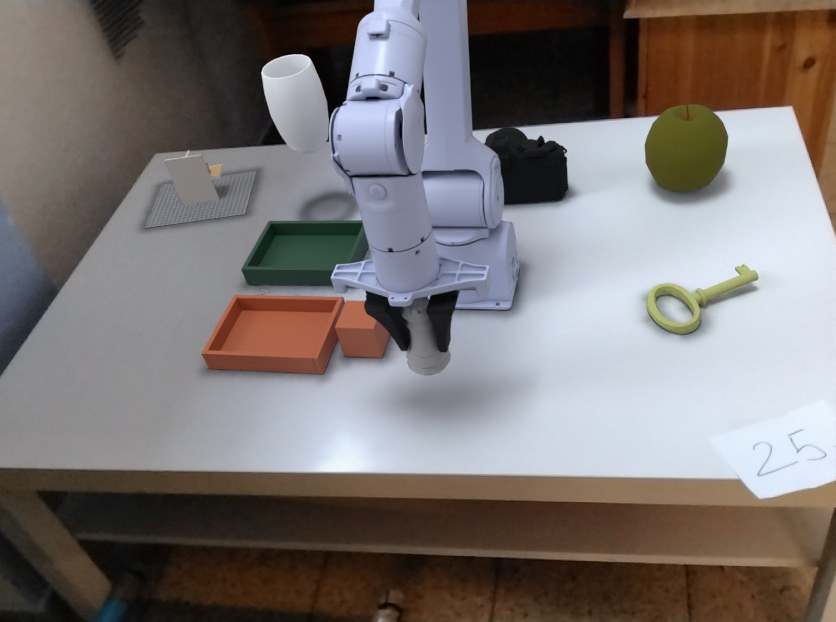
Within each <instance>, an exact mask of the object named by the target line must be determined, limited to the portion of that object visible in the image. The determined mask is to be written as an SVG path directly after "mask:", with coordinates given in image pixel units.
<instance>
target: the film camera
mask: <svg viewBox="0 0 836 622" xmlns="http://www.w3.org/2000/svg"><path fill="white" fill-rule="evenodd" d="M483 144H485V145H486V146H487V147H489V148H490V149H492V150H493V151H494V152H495V153H496V154H497V155H498V159H499V160H500V169H501V176H502V180H503V187H504V205H505V206H507V205H508V206H509V205H526V204H538V203H551V202H559V201H561V200H563V199H564V198H565V197H566V195H567V192H568V191H569V176H568V175H569V174H568V156H565V154H567V153H568V149H567V147H564V145H561V144H560V143H559V142H557V141H556V140H547V141H545V137H544V136H543V135H538V138H537V139H533V138H528V137H527V135H526V134H525V132H524V131H522V130H520V129H519V128H517V127H513V126H510V127H509V126H506V127H501V128H499V129H497V130H495V131H493V132H490V133H489V134H488V135H487V136H486V138H485V140H484V142H483ZM462 170H469V169H462Z"/></svg>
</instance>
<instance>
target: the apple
mask: <svg viewBox="0 0 836 622" xmlns="http://www.w3.org/2000/svg"><path fill="white" fill-rule="evenodd" d="M728 145H729V133H728V131H727V129H726V125H725V123H724V121H723V120H722V119H721V118H720V117H719V115H717V113H715V112H714V111H713V110H711V109H710V108H708V107H707V106H704V105H701V104H697V103H696V104H694V103H693V104H692V103H691V104H688V103H687V104H682V105H675V106H672V107H669V108H667V109H665V110H664V111H663V112H662V113H661V114H660V115H658V116H657V118H655V120H654V121H653V122H652V124H651V126H650V128H649V130H648V134H647V135H646V137H645V142H644V158H645V159H644V160H645V165H646V167H647V168H648V171H649V173H650V175H651V177H652V179H653V181H654V183H655V184H656V186H657V187H659V188H661V189H662V190H664V191H667V192H668V191H669V192H674V193H682V192H683V193H685V192H692V191H697V190H701V189H703V188H704V187H705V188H706V187H707V186H709V185H710V184H711V183H712V182H713V181H714V180H715V178H716V177H717V175H718V174H719V172H720V171H721V169H722V167H723V166H724V164H725V162H726V156H727V151H728Z"/></svg>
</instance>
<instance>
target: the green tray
mask: <svg viewBox="0 0 836 622" xmlns="http://www.w3.org/2000/svg"><path fill="white" fill-rule="evenodd" d="M368 249H369V244H368V240H367V237H366V233H365V230H364V226H363V222H362V219H357V220H355V219H354V220H352V219H351V220H349V219H347V220H342V219H339V220H338V219H337V220H335V219H334V220H327V219H326V220H268V221H267V223H266V225H265V227H264V228H263V229H262V231H261V234H260V235H259V237H258V239H257V241H255V244H254V246H253V248H252V250H251V251H250V253H249V255H248V257H247V258H246V260H245V262H244V263H243V265H242V267H241V269H240V270H241V272H242V275H243V277H244V279H245V282H246V284H247V285H260V286H261V285H263V286H264V285H267V286H268V285H269V286H270V285H271V286H321V287H322V286H324V287H325V286H329V287H330V286H331V287H333V284H332V281H331V276H332V274H333V271H334V269H335V267H336V265H337V264H351V263H356V262H361V261H364V258H365V255H366V253H367V250H368Z"/></svg>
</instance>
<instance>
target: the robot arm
mask: <svg viewBox="0 0 836 622" xmlns="http://www.w3.org/2000/svg"><path fill="white" fill-rule="evenodd" d="M467 6H468V4H467V0H374V3H373V11H372V12H370V13H368V14H366V15H365V16H364V17H363V18H361V20H360V21H359V23H358V26H357V30H356V37H355V44H354V50H353V54H352V61H351V67H350V74H349V79H348V88H347V91H346V92H347V93H346V98H345V99H346V100H345V101H343V102H342V105H341V106H339V107H336V108H335V109H334V110H333V112H332V113H331V116H330V119H329V127H328V143H329V148H330V150H329V151H330V159H331V163H332V166H333V168H334V170H335V172H336V173H337V174H338V176H340V177H341V178H342V180H343V182H344V185H345V189H346V192H347V194H349V196H351V197H355V199H356V202H357V207H358V210H359V214H360V218H361V220H362V222H363V226H364V230H365V233H366V237H367V240H368V244H369V246H368V249H369V252H370V256H371V258H370V259H366V260H362V261H361V262H356V263H351V264H337V265H336V267H335V269H334V271H333V274H332V276H331V281H332V284H333V286H332V287H333V290H334V292H335V293H334V294H347V292H348V290H362V291H364V292H365V300H364V301H365V303H364V309H365V311H366V313H367V314H368V315H369V316H371V317H373V318H374V319H375V320H377V321H378V322H379V323H380V324H381V325H382V326H383V327H384V328H385V329H386V330H387V331H388V332H389V334H390V336H391V338H392V339H393V341H394V342H395V344H396V345H397V347H398V349H399V350H400V351H401V352H407V350H408V346H409V343H410V330H409V329H408V328H407V326H406V319H404V318H403V317H402V315H401V308H402V307H406V306H410V305H411V304H412V302H413V300H414V299H417V298H421V297H426V296H428V297H429V298H428V299H429V302H428V306H427V309H426V313H427V315H428V316H429V318H430V320H431V322H432V324H433V327H434V329H435V333H436V339H437V345H438V349H439V351H440V352H444V353H446V352H447V351H448V348H449V349H450V344H451V340H452V338H451V337H452V332H451V331H452V319H453V315H454V312H455V310H456V309H458V310H459V309H463V310H464V309H465V310H503V311H505V310H510V309H511V308H512V305H513V301H514V295H515V291H516V287H517V282H518V279H519V273H520V269H521V266H520V265H521V264H520V263H519V258H518V249H517V248H518V247H517V238H516V232H515V231H516V230H515V225H514V223H513V222H512V221H510V220H509V221H508V220H502V218H503V215H504V207H505V206H504V187H503V180H502V176H501V169H500V160H499V159H498V155H497V154H496V153H495V152H494V151H493V150H492V149H490V148H489V147H487V146H486V145H485V144H484V142H482V141H480V140H479V139H478V138H476V137H475V136H474V135H473V113H472V95H471V94H472V93H471V92H472V91H471V71H470V68H471V67H470V49H469V28H468V26H469V24H468V7H467ZM418 18H419V19H418ZM422 83H423V89H424V103H423V101H422V99H421V91H422ZM424 105H425V106H424ZM425 119H426V120H425ZM424 121H426V133H427V134H425V122H424ZM425 135H426V136H427V142H425V141H426V138H425ZM462 169H469V170H462Z"/></svg>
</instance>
